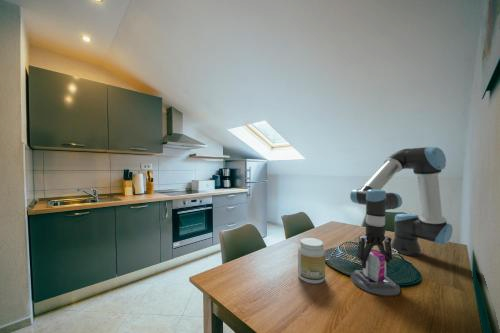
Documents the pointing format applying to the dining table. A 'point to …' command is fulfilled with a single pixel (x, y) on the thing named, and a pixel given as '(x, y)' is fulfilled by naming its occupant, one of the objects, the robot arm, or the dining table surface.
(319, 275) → the supplement tub
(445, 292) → the dining table surface
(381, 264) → the supplement box
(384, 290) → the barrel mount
